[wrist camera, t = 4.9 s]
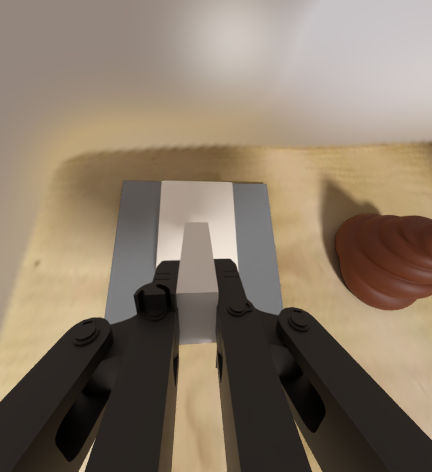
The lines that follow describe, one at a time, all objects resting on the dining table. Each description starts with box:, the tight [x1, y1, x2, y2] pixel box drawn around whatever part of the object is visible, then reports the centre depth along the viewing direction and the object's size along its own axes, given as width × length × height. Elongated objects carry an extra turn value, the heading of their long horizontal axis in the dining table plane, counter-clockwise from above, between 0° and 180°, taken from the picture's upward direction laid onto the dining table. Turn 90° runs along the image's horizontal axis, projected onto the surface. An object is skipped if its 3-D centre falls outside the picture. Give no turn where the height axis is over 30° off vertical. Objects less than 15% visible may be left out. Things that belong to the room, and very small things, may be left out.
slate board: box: [104, 181, 283, 324], centre depth 20 cm, size 16×15×1 cm
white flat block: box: [156, 180, 238, 269], centre depth 19 cm, size 7×2×10 cm
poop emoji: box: [335, 214, 432, 310], centre depth 17 cm, size 10×8×9 cm
